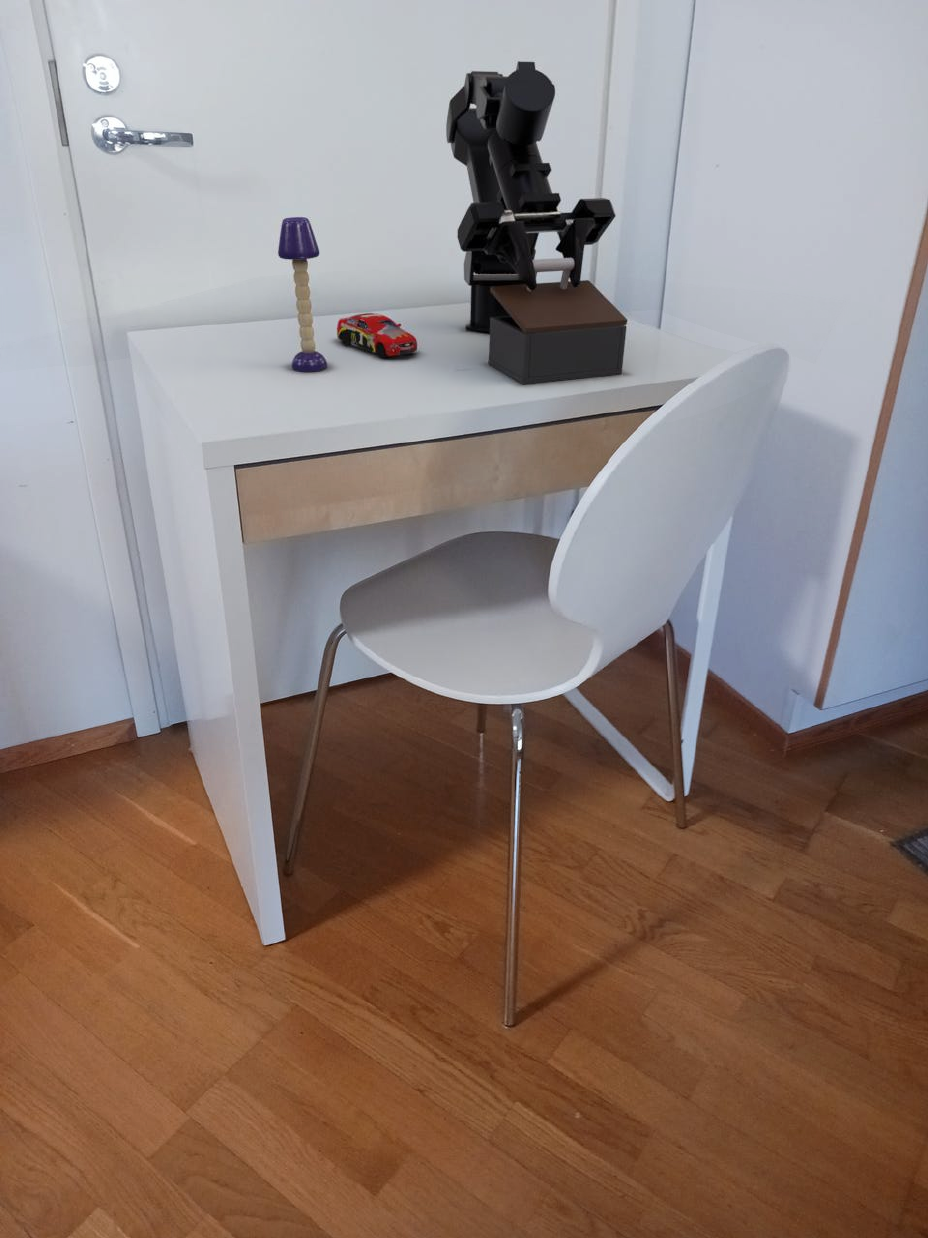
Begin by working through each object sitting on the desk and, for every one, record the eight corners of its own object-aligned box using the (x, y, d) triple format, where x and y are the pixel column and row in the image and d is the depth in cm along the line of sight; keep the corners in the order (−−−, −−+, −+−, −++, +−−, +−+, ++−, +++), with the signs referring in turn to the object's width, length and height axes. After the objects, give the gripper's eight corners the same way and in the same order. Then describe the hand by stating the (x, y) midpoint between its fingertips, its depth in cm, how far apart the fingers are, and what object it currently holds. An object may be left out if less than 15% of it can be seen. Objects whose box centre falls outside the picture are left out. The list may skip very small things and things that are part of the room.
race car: (424, 356, 120) (425, 324, 118) (389, 363, 117) (389, 330, 115) (365, 335, 129) (365, 305, 127) (331, 340, 126) (330, 309, 124)
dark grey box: (488, 364, 117) (490, 317, 115) (582, 355, 122) (586, 309, 119) (522, 384, 110) (525, 334, 107) (621, 374, 115) (626, 325, 112)
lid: (489, 291, 113) (495, 255, 110) (587, 284, 118) (595, 250, 115) (525, 333, 107) (532, 297, 104) (626, 325, 112) (636, 289, 109)
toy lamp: (293, 373, 112) (283, 221, 104) (281, 364, 115) (270, 216, 107) (332, 369, 114) (324, 219, 106) (318, 360, 117) (310, 214, 109)
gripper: (561, 212, 126) (595, 317, 123) (430, 217, 119) (462, 329, 116) (598, 153, 115) (635, 267, 113) (456, 155, 109) (492, 276, 106)
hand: (555, 286), depth 112 cm, fingers closed on lid, 5 cm apart
